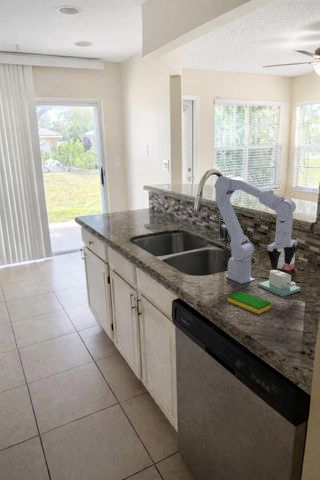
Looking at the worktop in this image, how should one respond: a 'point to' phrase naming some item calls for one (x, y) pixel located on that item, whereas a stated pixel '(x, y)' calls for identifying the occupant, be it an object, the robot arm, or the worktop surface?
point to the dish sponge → (249, 302)
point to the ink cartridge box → (282, 263)
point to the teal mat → (278, 289)
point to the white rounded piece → (280, 280)
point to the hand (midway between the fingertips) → (280, 265)
